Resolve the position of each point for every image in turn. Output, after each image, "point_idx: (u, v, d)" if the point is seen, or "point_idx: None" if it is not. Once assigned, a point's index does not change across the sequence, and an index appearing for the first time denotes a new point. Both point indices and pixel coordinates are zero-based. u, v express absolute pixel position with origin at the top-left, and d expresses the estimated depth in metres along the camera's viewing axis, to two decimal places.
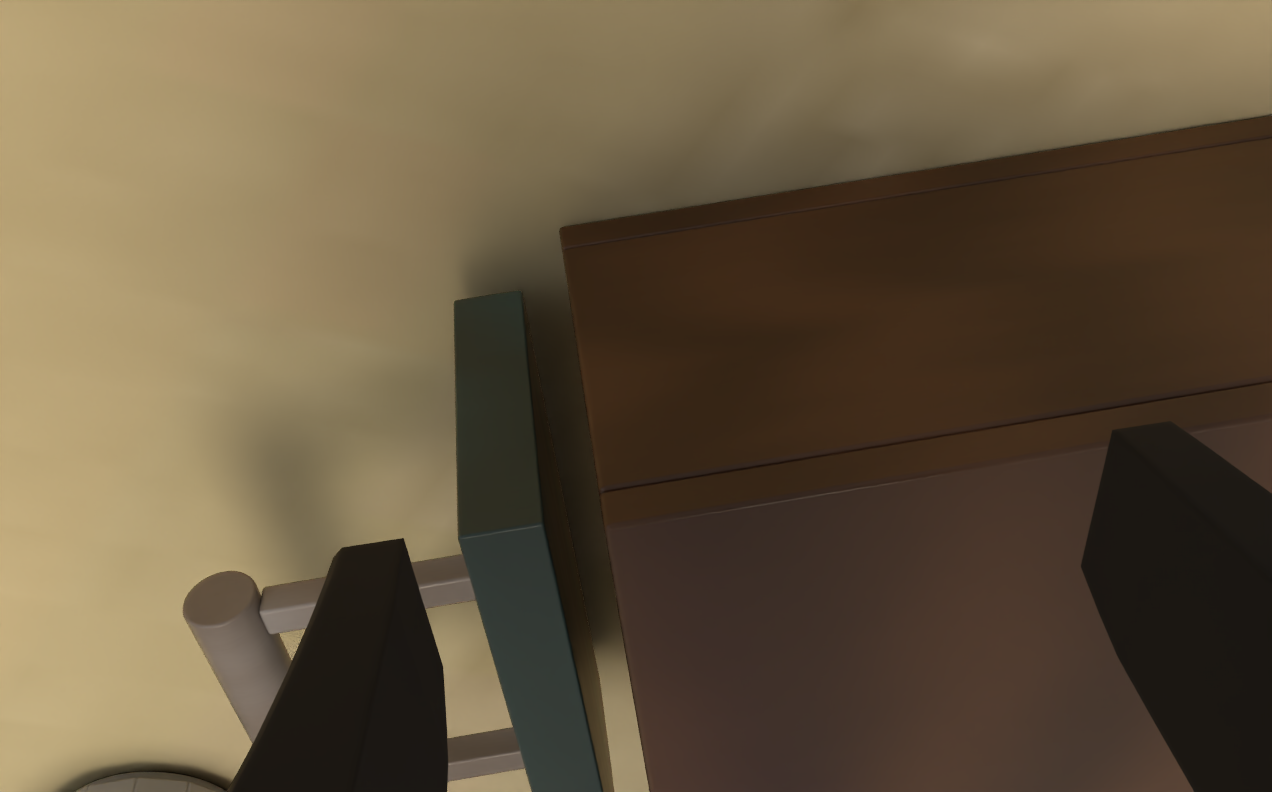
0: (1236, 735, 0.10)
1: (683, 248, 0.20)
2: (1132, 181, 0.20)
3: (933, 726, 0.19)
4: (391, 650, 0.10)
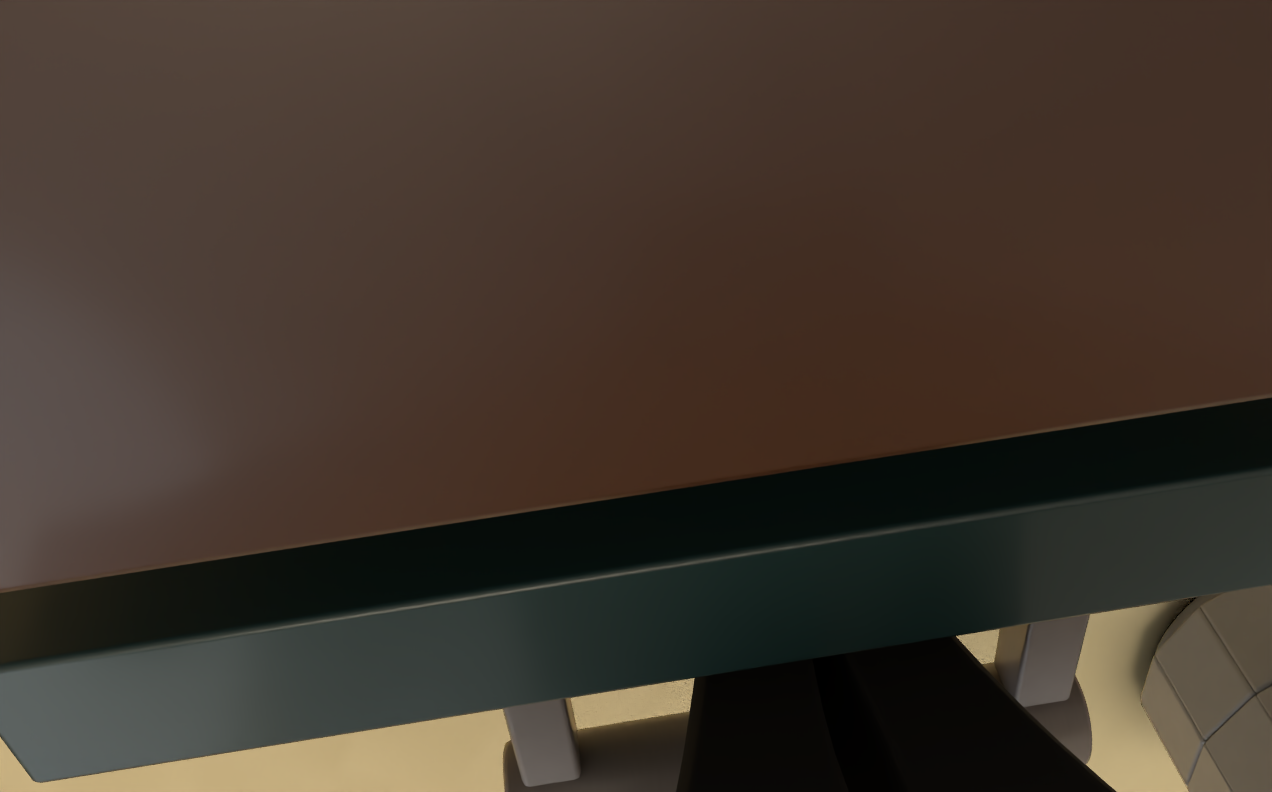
0: None
1: None
2: None
3: None
4: None
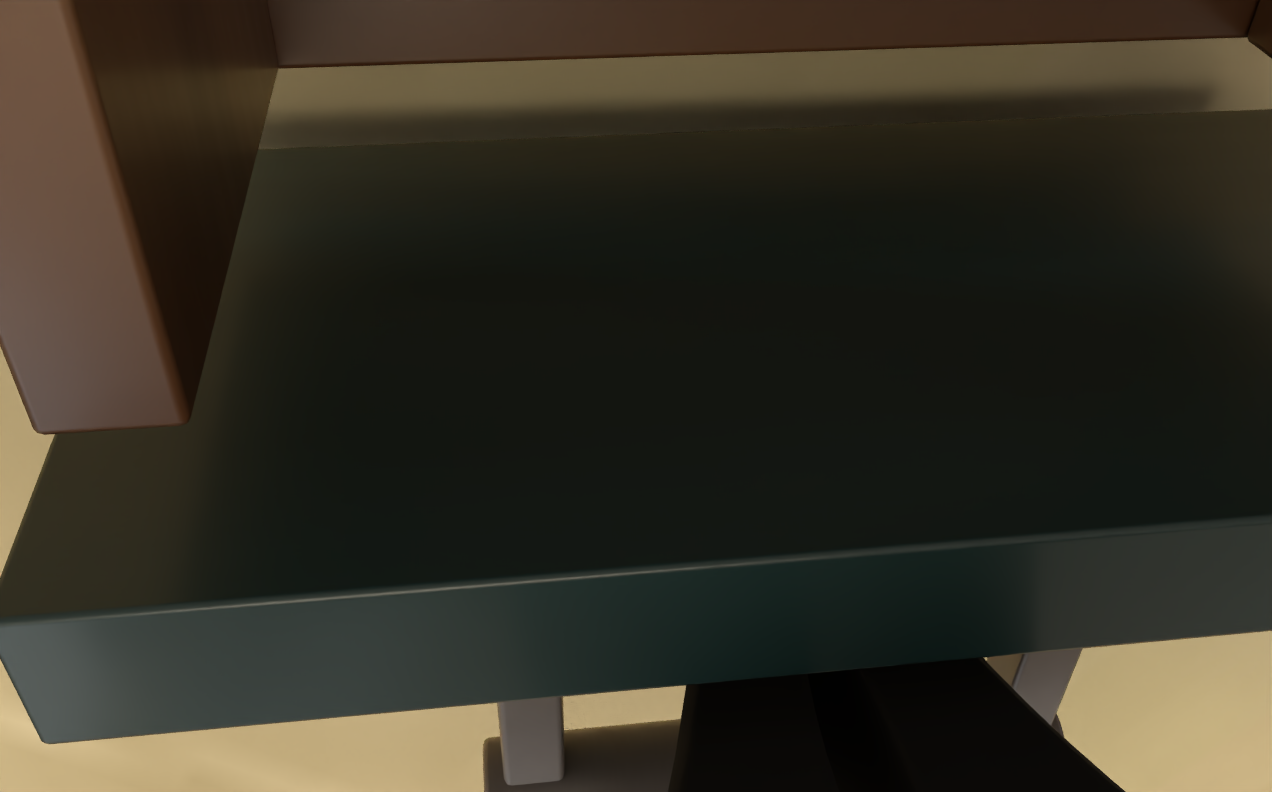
0: None
1: None
2: None
3: None
4: None
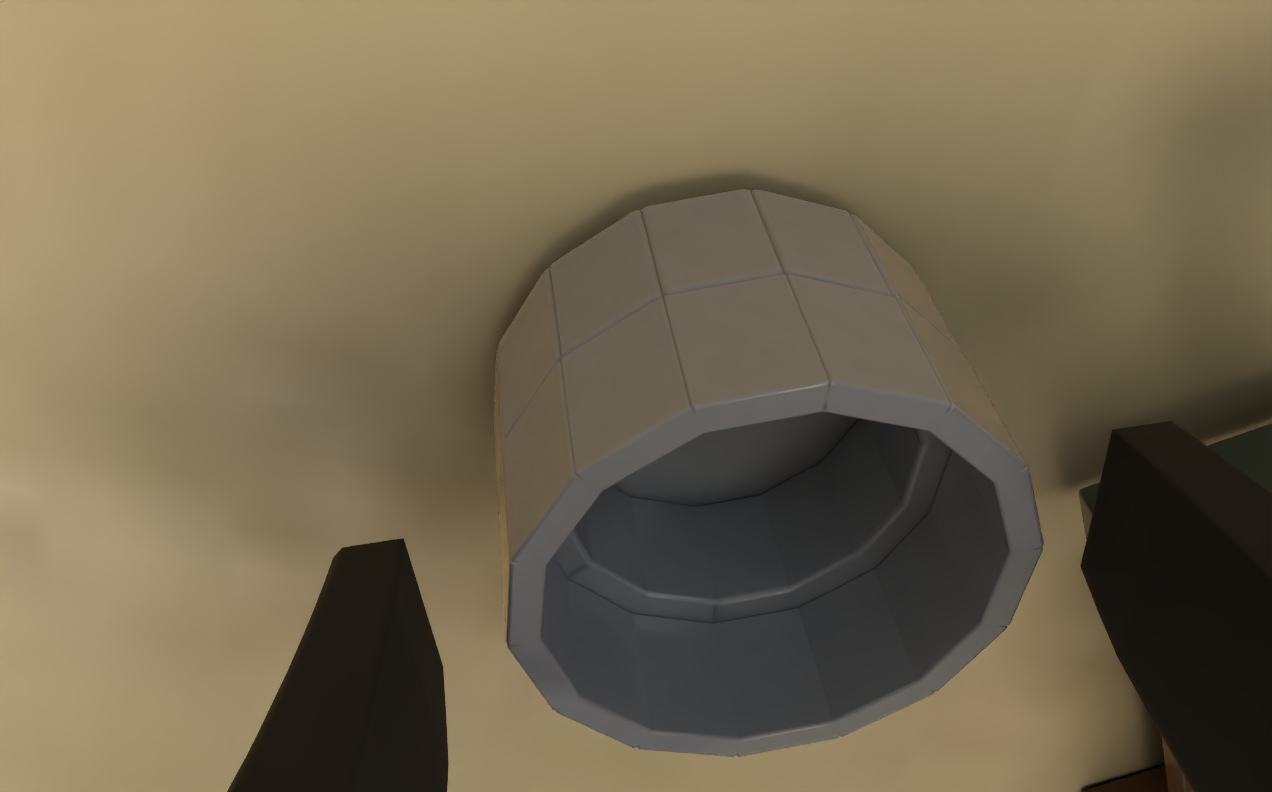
0: (1236, 735, 0.10)
1: None
2: None
3: None
4: (391, 650, 0.10)
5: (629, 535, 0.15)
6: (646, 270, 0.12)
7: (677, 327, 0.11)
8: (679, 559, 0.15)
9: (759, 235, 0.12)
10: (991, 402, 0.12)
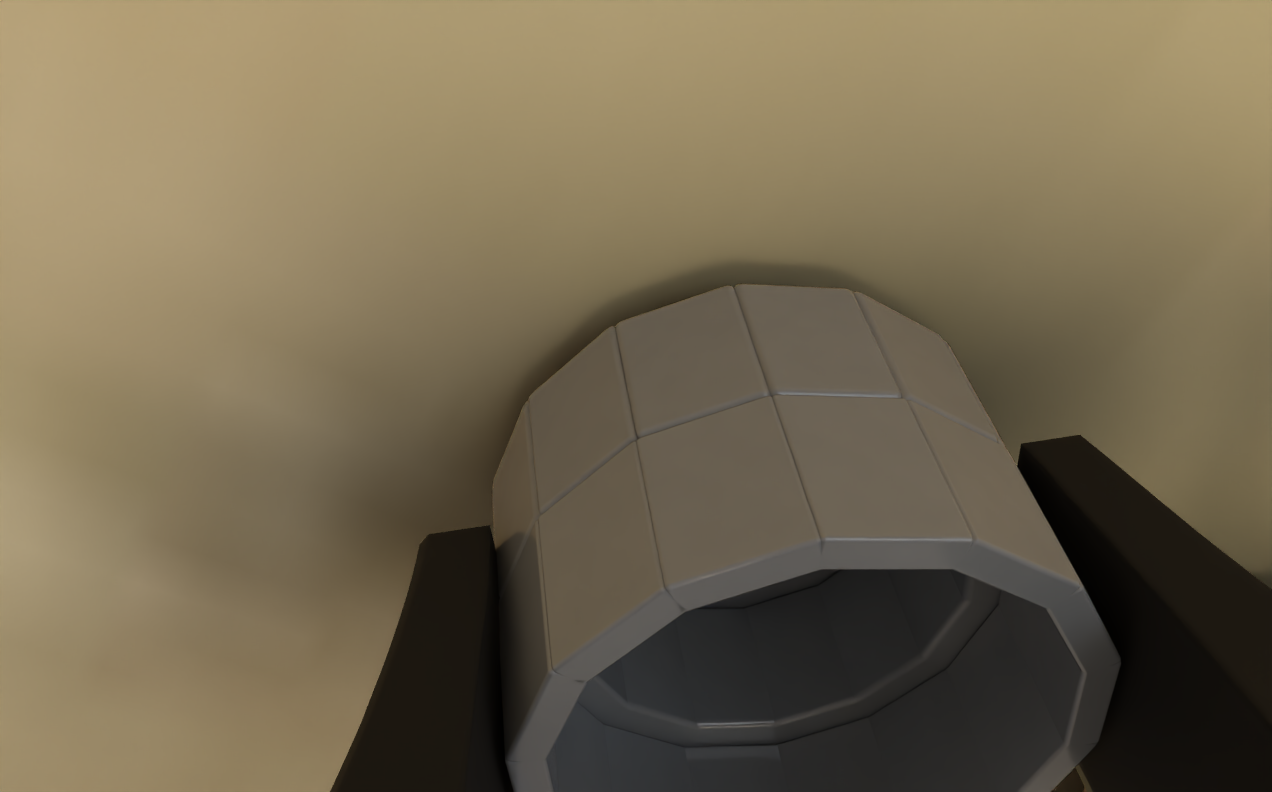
0: (1135, 752, 0.10)
1: None
2: None
3: None
4: (488, 635, 0.10)
5: None
6: (747, 359, 0.10)
7: (793, 437, 0.09)
8: (658, 669, 0.13)
9: (871, 347, 0.11)
10: None
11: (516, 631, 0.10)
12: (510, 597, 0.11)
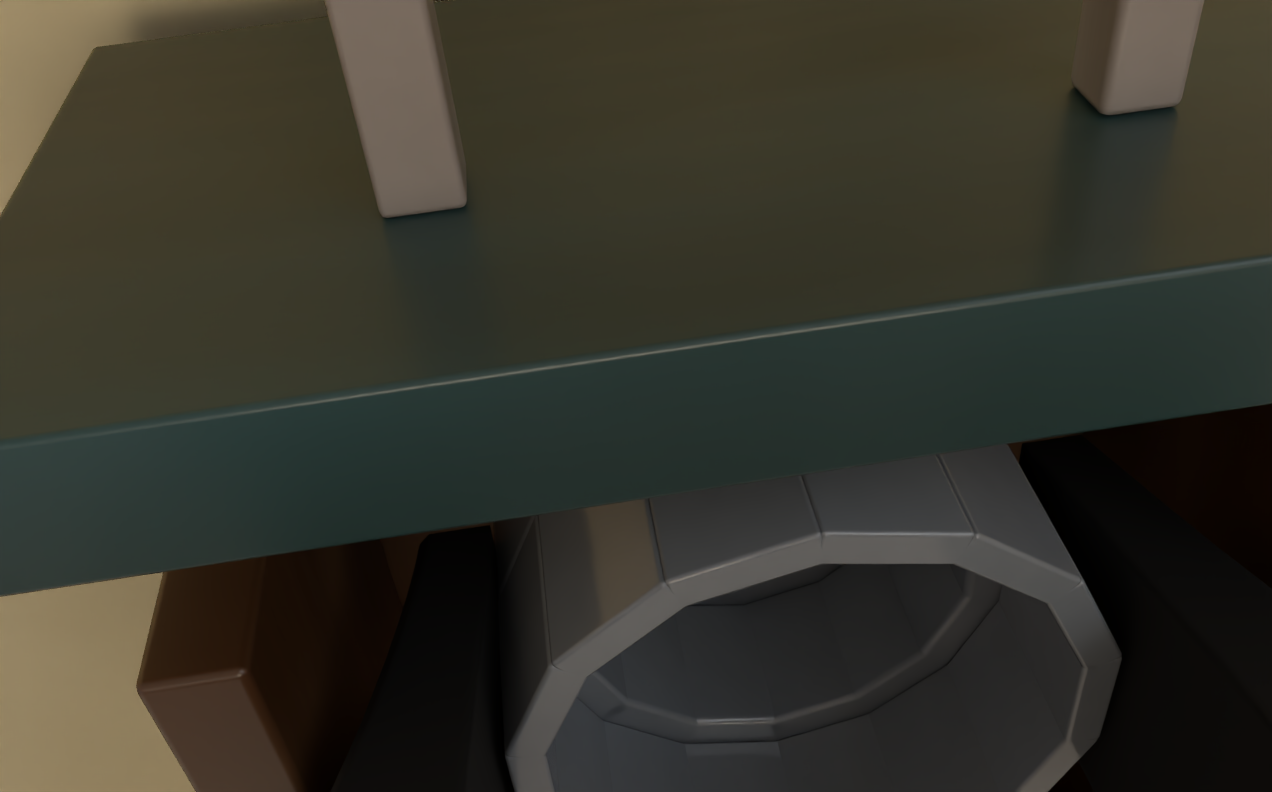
0: (1136, 751, 0.10)
1: None
2: None
3: None
4: (488, 635, 0.10)
5: None
6: None
7: None
8: (658, 665, 0.13)
9: None
10: None
11: (516, 626, 0.10)
12: (510, 592, 0.11)
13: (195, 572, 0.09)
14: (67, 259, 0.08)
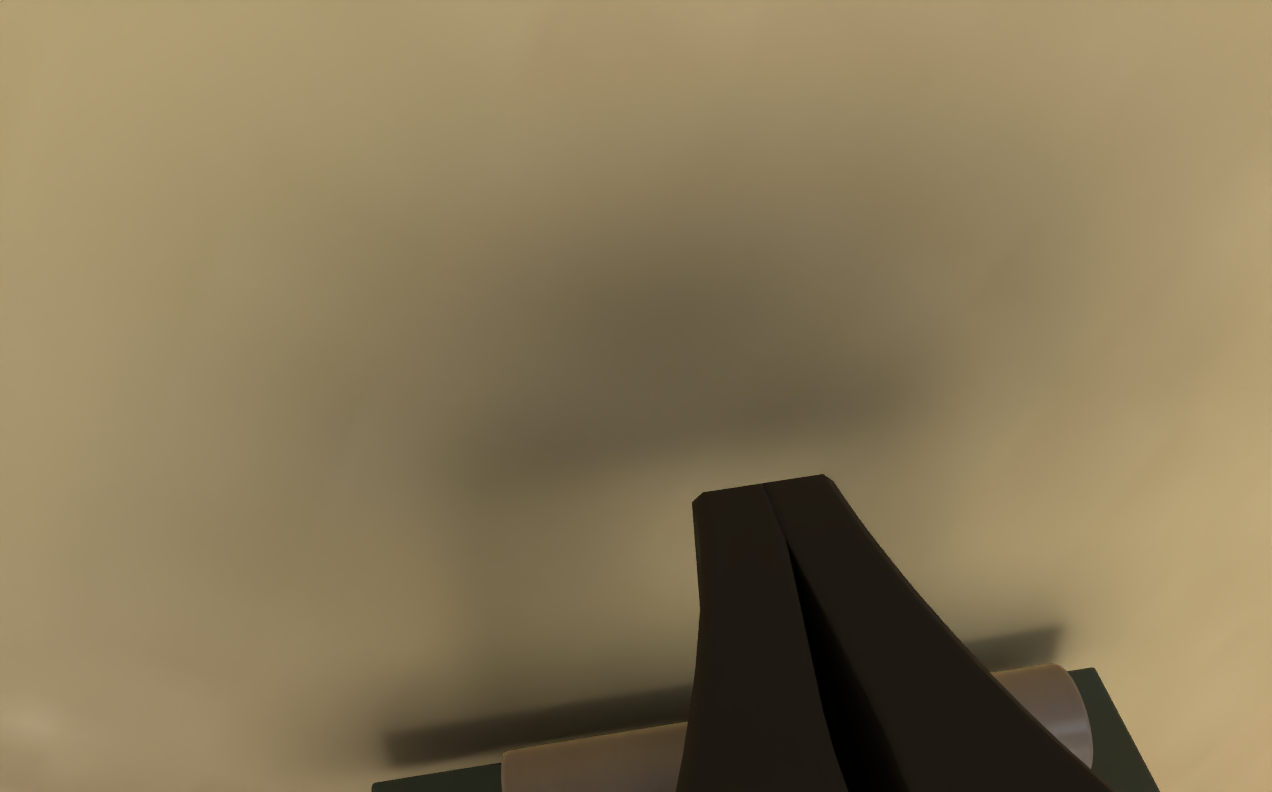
0: None
1: None
2: None
3: None
4: None
5: None
6: None
7: None
8: None
9: None
10: None
11: None
12: None
13: None
14: None
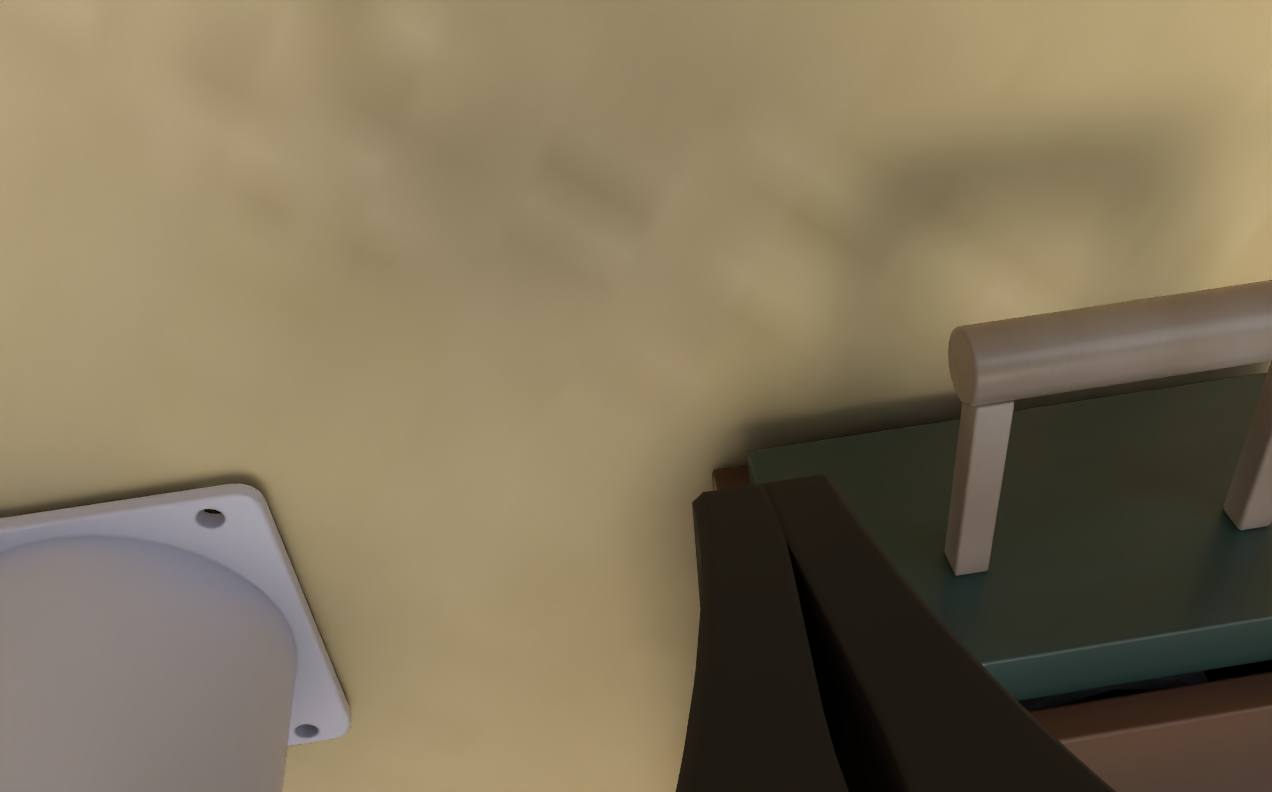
0: None
1: None
2: None
3: None
4: None
5: None
6: None
7: None
8: None
9: None
10: None
11: None
12: None
13: None
14: None
